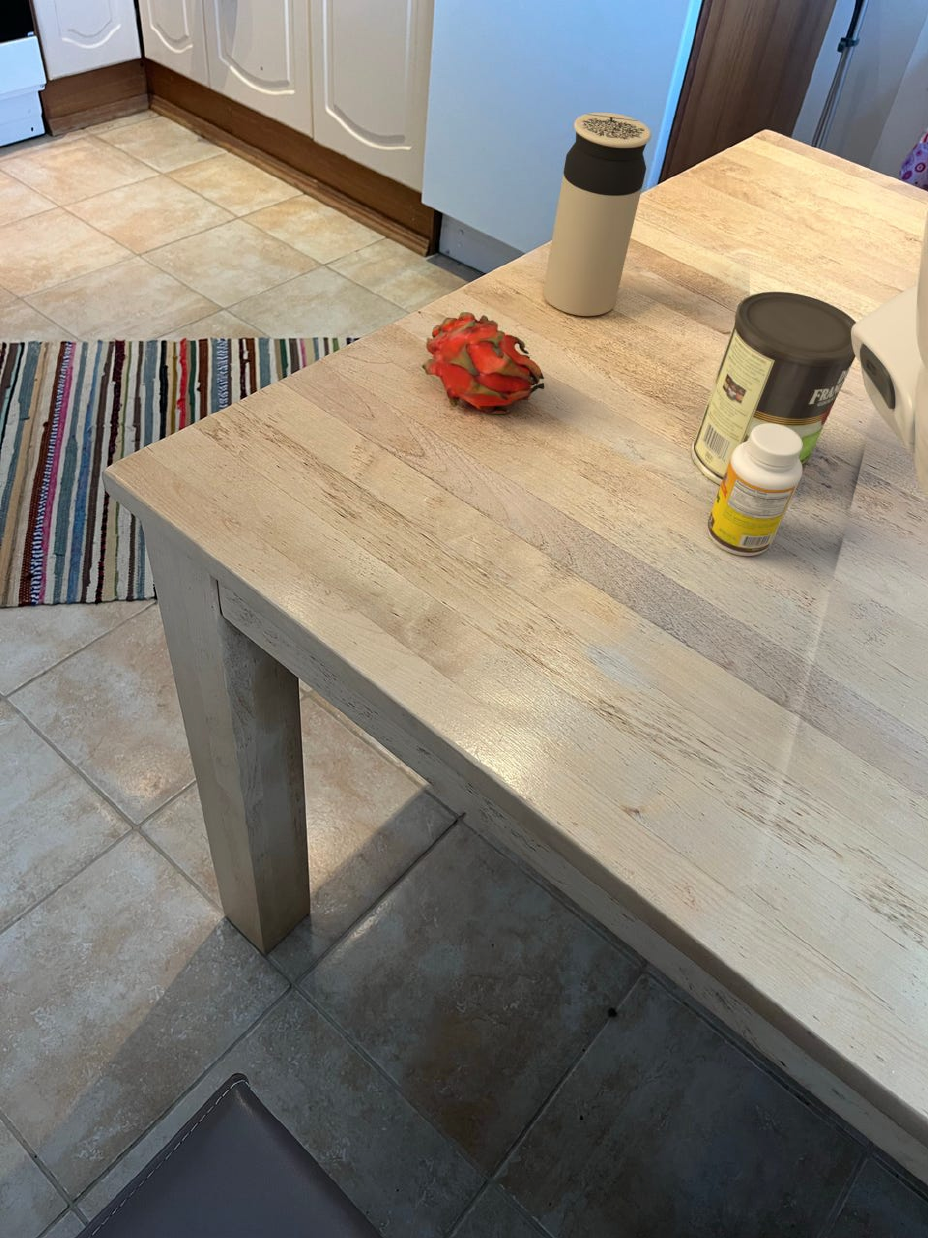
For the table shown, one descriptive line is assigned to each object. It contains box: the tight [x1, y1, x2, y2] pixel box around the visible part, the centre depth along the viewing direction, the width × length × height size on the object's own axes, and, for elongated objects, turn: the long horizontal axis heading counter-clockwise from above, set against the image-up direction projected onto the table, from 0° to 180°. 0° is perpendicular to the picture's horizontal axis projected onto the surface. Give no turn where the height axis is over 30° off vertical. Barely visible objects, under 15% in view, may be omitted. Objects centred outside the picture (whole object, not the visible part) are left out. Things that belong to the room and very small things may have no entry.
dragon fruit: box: [421, 311, 545, 415], centre depth 87 cm, size 8×8×12 cm
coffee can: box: [690, 291, 857, 487], centre depth 82 cm, size 10×10×14 cm
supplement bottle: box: [706, 423, 804, 557], centre depth 76 cm, size 6×6×10 cm
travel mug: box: [542, 112, 652, 317], centre depth 97 cm, size 8×8×18 cm
